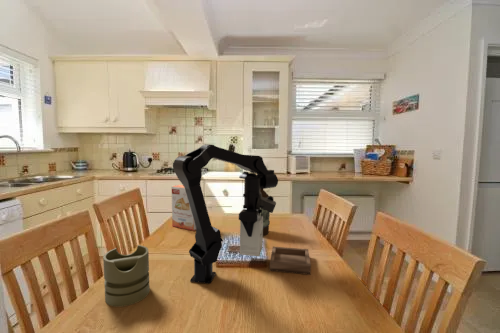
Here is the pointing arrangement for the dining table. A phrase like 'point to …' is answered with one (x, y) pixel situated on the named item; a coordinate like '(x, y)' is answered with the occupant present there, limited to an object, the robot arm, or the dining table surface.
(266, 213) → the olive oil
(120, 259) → the green divided utensil holder
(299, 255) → the holder tray
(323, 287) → the dining table surface
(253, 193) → the robot arm
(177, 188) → the cracker box
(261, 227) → the supplement box
